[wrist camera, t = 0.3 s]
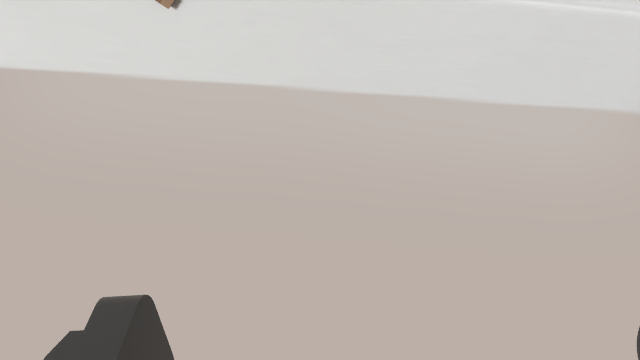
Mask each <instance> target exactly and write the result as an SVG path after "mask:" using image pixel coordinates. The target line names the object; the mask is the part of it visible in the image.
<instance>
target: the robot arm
mask: <svg viewBox="0 0 640 360" xmlns="http://www.w3.org/2000/svg"><path fill="white" fill-rule="evenodd" d="M637 353H638V359H639V360H640V328H639V331H638V336H637ZM44 360H174V358H173V354H172V351H171V348H170V345H169V342H168V340H167V337H166V334H165V332H164V329H163V326H162V323H161V321H160V318H159V315H158V312H157V310H156V307H155V304H154V302H153V300H152V298H151V297H150V296H148V295H136V296H119V297H118V296H117V297H103V298H101V299H100V300H99V301H98V302H97V304H96V306H95V308H94V310H93V312H92V314H91V316H90V318H89V321H88V323H87V325H86V327H85V329H84V330H83V331H70V332H69V333H68V334H67V335H66V336H65V337H64V338H63V339H62V340H61V341H60V342H59V343H58V344H57V345H56V346H55V347H54V348H53V349H52V351H51V352H50V353H49V354H48V355H47V356H46V357H45V358H44Z"/></svg>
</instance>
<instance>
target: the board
mask: <svg viewBox="0 0 640 360" xmlns="http://www.w3.org/2000/svg"><path fill="white" fill-rule="evenodd" d="M156 1H157V2H159V3H160V4H162V5H163V6H165V7H166V8H168V9H169V8H170V6H171V4H172V3H173V1H174V0H156Z"/></svg>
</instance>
